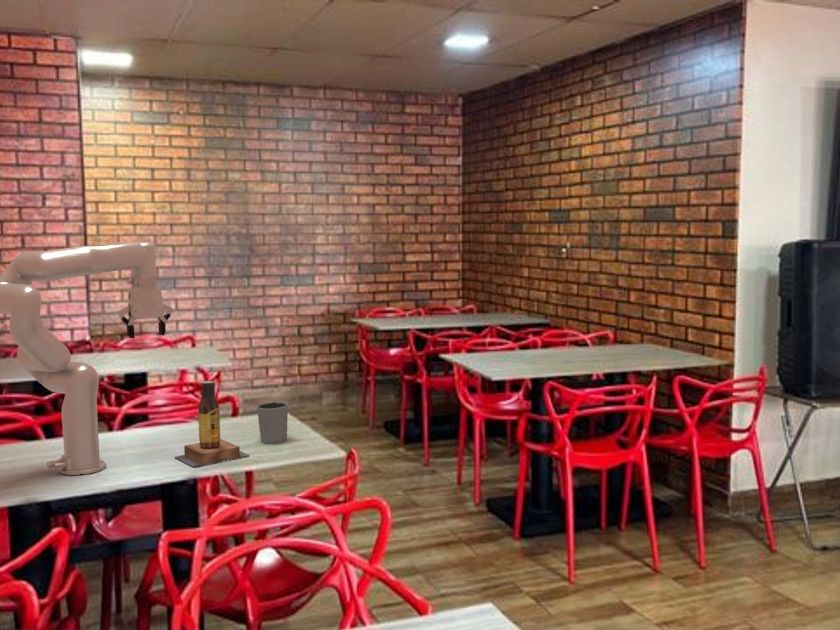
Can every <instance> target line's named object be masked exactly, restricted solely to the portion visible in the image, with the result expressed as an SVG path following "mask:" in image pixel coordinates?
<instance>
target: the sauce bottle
mask: <svg viewBox="0 0 840 630" xmlns="http://www.w3.org/2000/svg"><path fill="white" fill-rule="evenodd" d="M200 385H201V396H202V397H201V399H200V401H199V403H198V414H197V415H198V439H199V440H198V441H199V443H200V446H201V447H202V448H214V447H218V446H219V445H220V439H221V423H220V421H221V417H220V415H221V414H220V405H219V403H218V401H217V397H216V393H215V392H216V389H215V387H216V383H215V381H214V380H213V381H212V380H211V381H210V380H207V381H202V382H201V383H200Z"/></svg>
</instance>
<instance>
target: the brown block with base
mask: <svg viewBox="0 0 840 630" xmlns="http://www.w3.org/2000/svg"><path fill="white" fill-rule="evenodd" d="M183 448H184V454H183V455H176V456H174V459H175V460H177V461H180V462H181V463H182V464H183V463H184V464H185V465H187V466H189V467H191V468H193V469H197V468H200V467H205V466H211V465H216V464H220V463H219V462H221V463H223V462H222V461H226V462H228V461H227V460H230V461H232V460H231V459H235V460H237V459H236V458H240V459H242V458H241V457H245V458H247V457H246V456H250V454H248V453H246V452H243V451H241V450H240V446H239V445H236V444H234V443H231V442H229V441H227V440H225V439H222V438H220V445H219V446H218V447H214V448H202V447H201V446H200V442H198V443H197V442H196V443H191V444H186V445H184V447H183ZM215 463H216V464H215Z"/></svg>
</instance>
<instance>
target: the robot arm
mask: <svg viewBox="0 0 840 630" xmlns="http://www.w3.org/2000/svg"><path fill="white" fill-rule="evenodd" d="M156 261H157V260H156V247H155V244H154V243H153V242H146V241H145V242H136V241H134V242H133V241H131V242H130V241H127V242H126V241H125V242H124V241H122V242H119V241H118V242H111V243H109V244H107V245H96V246H95V245H81V246H80V245H79V246H72V247H66V248H58V249H50V250H45V251H44V250H41V251H40V250H39V251H24V252H21V253H20V254H18V255H16V256H15V258H14V259H12V260H11V262H9V264H8V265H7V267H6V268H5V269H4V271H3V272H2V273H1V274H0V314H1V315H2V314H3V315H9V334H10V337H11V338H12V340H13V342H14V343H15V344H16V345H17V346H18V348H17V351H16V357H17V361H18V363H19V365H20V367H22V368H23V370H24V371H26V372H27V373H28V374H29V375H30V376H31V377H32V378H34V379H35V381H37V382H38V383H39V384H41V385H42V386H43V387H44V388H46V389H47V390H48V391H50V392H52V393H58V394H64V399H63V401H62V402H63V403H62V406H61V424H62V438H63V439H62V440H63V454H62V455H61V456H60V458H58V459H57V460H49V461H47V462H46V468H47V469H51V468H53V469H59V473H60V474H62V475H65V474H66V476H81V475H80V474H83V475H89V474H93V473H97V472H100V471H103V470H104V469H105V468H107V467H106V466H107V462H105V461H104V460H102V459H101V457H100V456H101V455H100V439H99V421H98V406H97V405H98V404H97V402H98V399H97V398H98V389H99V384H100V383H99V382H100V379H99V374H98V372H97V370H96V369H95V368H94V367H93V366H92V365H90V364H88V363H85V362H77V361H71V360H72V356H71V353H70V350H69V348H68V347H67V346H66V345H65V344H64V343H63V342H62V341H61V340H60V339H59V338H58V337H56V335H54V333H52V331H50V330H49V329H48V327H46V325H45V324H44V323H43V322H42V319H41V309H42V303H43V301H42V295H41V294H40V291H39V290H38V289H37V288H36V287H35V286H33V285H31V284H32V283H33V282H35V283H37V282H39V283H40V282H41V283H42V282H43V283H47V282H52V281H53V282H54V281H59V280H60V281H61V280H65V279H71V278H77V277H83V276H90V275H91V276H92V275H93V276H94V275H97V274H104V273H110V272H111V273H112V272H116V271H117V272H118V271H123V270H130V278H129V279H126V284H128V285H129V284H130V285H131V286H129V289H128V290H129V291H128V295H127V296H128V297H127V305H126V306H125V307H124V308H122V309H120V310H118V311H117V315H118V317H119V319H120V321H121V322H123V324H125V325H126V334H127V336H128V338H129V339H135V338H136V337H135V325H134V322H135V321H136V320H147V319H157V320H158V323H157V324H158V325H157V326H158V335H160V336H166V335H165V334H166V331H167V329H166V325H167V324H166V323H167V321H168V320H169V319H170V318H171V316H172V315H171V314H172V312H173V310H174V309H173V307H171V306H169V305H166V304H164V299H163V295H162V289H161V286H160V285H157V284H158V281H157V280H158V279H157V278H158V277H157V263H156ZM165 310H166V313H165ZM125 314H127V315H128V317H126V316H125Z"/></svg>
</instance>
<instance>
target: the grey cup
mask: <svg viewBox="0 0 840 630" xmlns="http://www.w3.org/2000/svg"><path fill="white" fill-rule="evenodd" d="M256 411H257V419H258V421H257V422H258V427H259V428H258V429H259V437H260V442H261V443H263V444H267V445H275V444H276V445H277V444H282V443H286V442H287V440H288V415H289V413H288V411H289V404H288V403H287V402H283V401H267V402H263V403H260V404H259V403H258V405H257V406H256Z"/></svg>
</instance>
